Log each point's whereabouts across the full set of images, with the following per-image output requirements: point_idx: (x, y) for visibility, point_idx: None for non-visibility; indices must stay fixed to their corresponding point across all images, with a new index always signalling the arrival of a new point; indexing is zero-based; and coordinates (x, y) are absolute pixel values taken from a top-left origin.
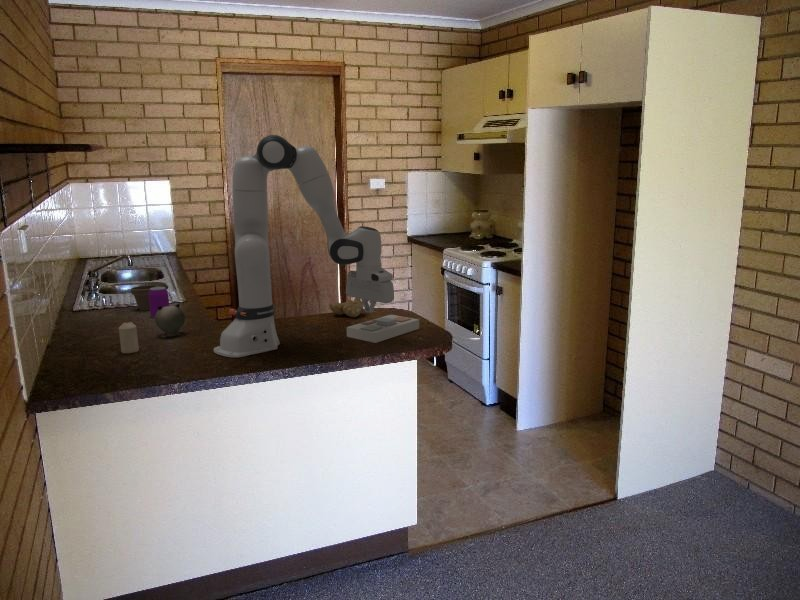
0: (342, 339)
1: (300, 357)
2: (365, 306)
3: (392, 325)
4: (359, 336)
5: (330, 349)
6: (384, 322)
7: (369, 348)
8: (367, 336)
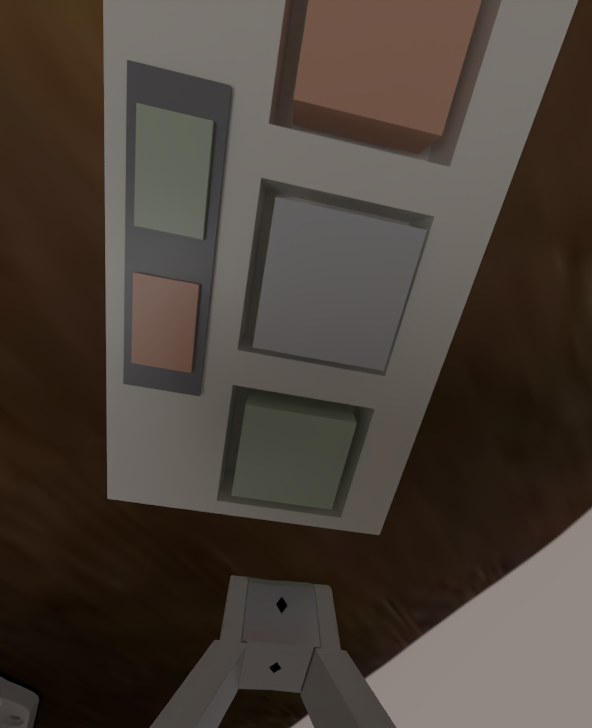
0: None
1: None
2: (230, 701)
3: (406, 315)
4: None
5: None
6: (351, 363)
7: (380, 560)
8: None
